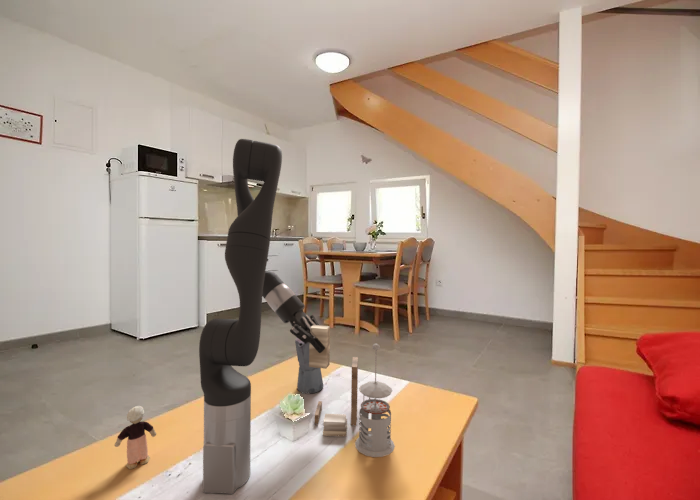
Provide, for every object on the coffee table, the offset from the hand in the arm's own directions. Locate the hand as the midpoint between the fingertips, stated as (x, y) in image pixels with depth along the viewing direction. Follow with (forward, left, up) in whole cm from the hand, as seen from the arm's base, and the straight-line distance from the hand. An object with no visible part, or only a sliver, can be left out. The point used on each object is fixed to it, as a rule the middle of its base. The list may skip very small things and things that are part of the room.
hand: (324, 348), depth 94 cm
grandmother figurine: (-22, +39, -20) cm, 49 cm away
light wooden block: (0, +1, -5) cm, 5 cm away
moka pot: (+20, +7, -20) cm, 30 cm away
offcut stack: (-6, -4, -20) cm, 21 cm away
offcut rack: (+1, -4, -20) cm, 20 cm away
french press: (-10, -14, -20) cm, 26 cm away
